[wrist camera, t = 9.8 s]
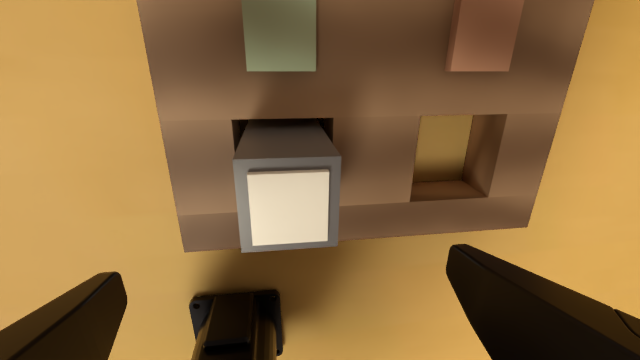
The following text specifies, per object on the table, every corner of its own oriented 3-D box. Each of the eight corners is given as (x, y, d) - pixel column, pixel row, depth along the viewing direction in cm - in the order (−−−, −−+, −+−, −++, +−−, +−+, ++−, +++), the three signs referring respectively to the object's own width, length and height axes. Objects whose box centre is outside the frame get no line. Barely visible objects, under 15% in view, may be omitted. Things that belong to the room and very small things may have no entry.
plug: (314, 178, 20) (338, 250, 13) (253, 180, 20) (240, 257, 12) (315, 118, 19) (343, 158, 11) (249, 118, 18) (231, 162, 11)
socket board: (497, 207, 23) (534, 231, 20) (196, 226, 20) (181, 258, 17) (549, -5, 18) (611, -19, 15) (156, -19, 15) (122, -41, 12)
